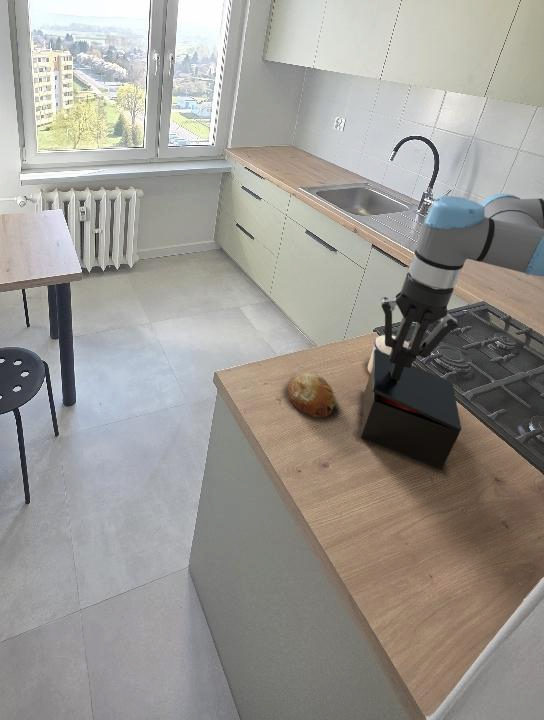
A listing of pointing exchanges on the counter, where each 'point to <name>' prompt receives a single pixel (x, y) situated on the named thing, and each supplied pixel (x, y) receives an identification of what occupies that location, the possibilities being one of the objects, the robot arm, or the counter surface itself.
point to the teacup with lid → (382, 349)
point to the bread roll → (312, 395)
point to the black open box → (405, 431)
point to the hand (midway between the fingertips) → (394, 375)
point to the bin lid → (416, 391)
